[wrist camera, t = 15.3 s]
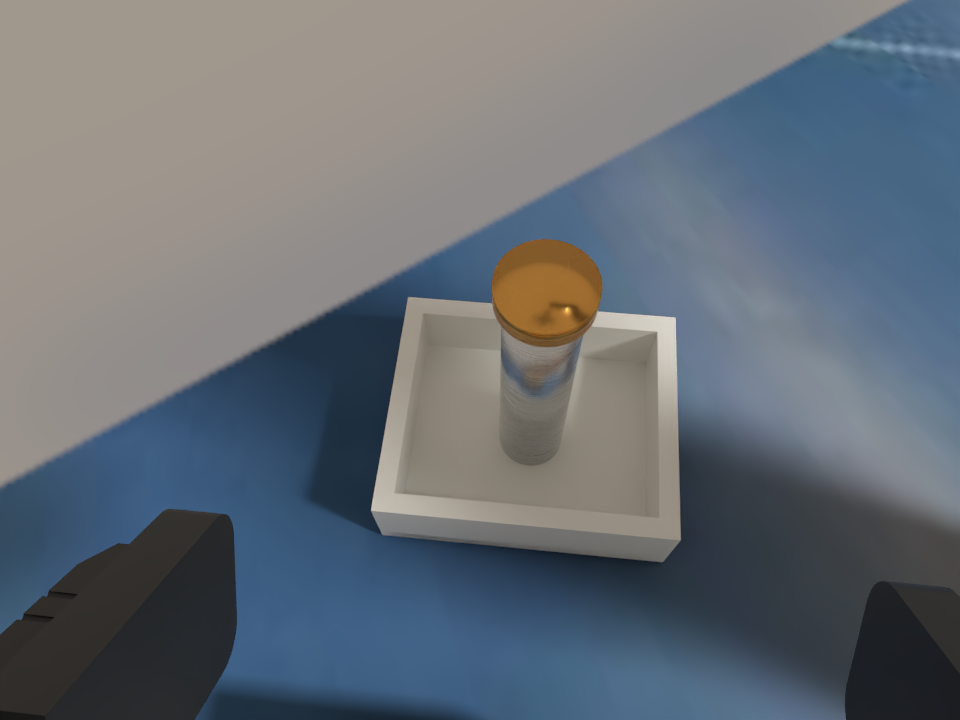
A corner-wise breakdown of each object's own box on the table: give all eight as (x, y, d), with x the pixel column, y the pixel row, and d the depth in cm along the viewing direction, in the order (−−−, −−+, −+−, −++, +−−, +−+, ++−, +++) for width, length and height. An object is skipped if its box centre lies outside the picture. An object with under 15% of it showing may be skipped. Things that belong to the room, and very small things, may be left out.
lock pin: (569, 405, 35) (603, 243, 24) (566, 475, 33) (601, 335, 22) (496, 399, 35) (497, 235, 24) (489, 468, 33) (487, 326, 23)
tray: (660, 355, 37) (675, 317, 34) (662, 562, 32) (680, 540, 29) (415, 335, 37) (408, 296, 34) (382, 535, 33) (370, 510, 30)
